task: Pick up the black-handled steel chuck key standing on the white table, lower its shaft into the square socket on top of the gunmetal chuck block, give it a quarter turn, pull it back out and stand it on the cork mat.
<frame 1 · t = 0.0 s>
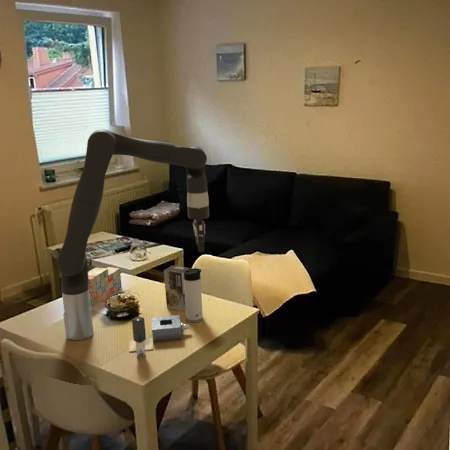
hand: (200, 248, 191), 29 cm above the table, fingers open, 8 cm apart
stack of blocks: (102, 296, 228), on the table
chuck block: (166, 335, 191), on the table
travel mug: (194, 319, 203), on the table
coffee box: (179, 307, 214), on the table
cork mat: (141, 345, 184), on the table
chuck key: (141, 355, 177), on the table
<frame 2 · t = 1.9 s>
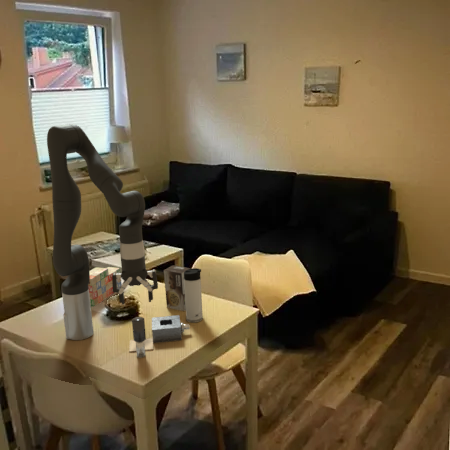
hand: (136, 302, 172), 19 cm above the table, fingers open, 8 cm apart
nothing on the table moved.
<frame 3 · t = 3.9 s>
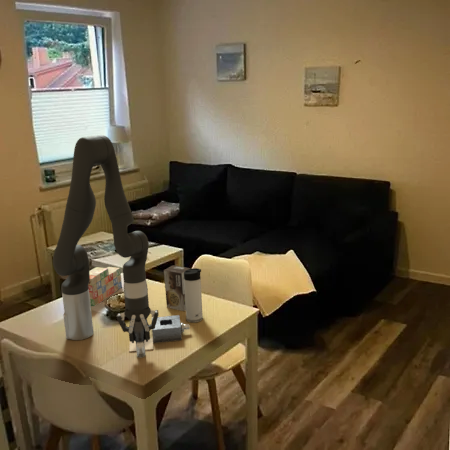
hand: (140, 341, 176), 5 cm above the table, fingers closed on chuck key, 4 cm apart
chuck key: (141, 355, 177), on the table, touching gripper
everything else where it was.
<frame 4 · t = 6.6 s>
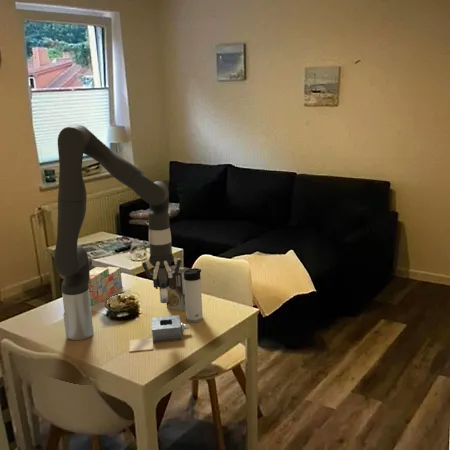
hand: (163, 287, 186), 18 cm above the table, fingers closed on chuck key, 4 cm apart
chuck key: (164, 301, 187), point 13 cm above the table, touching gripper
everything else where it was.
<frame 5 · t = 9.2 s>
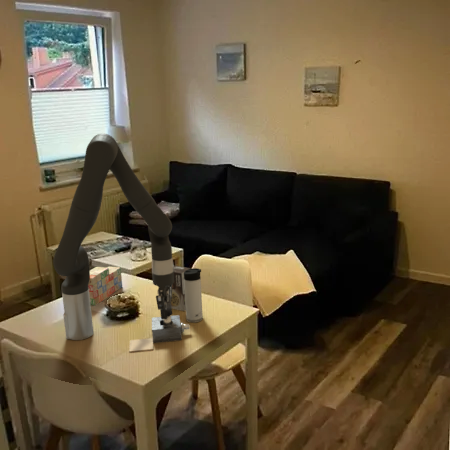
hand: (165, 315, 190), 7 cm above the table, fingers closed on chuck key, 4 cm apart
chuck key: (168, 330, 191), point 2 cm above the table, tilted 6°, touching gripper
everything else where it was.
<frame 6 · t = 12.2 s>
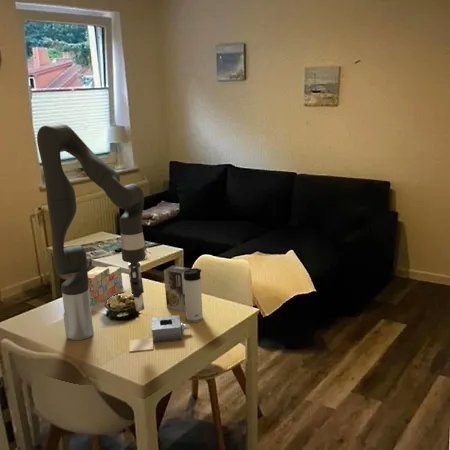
hand: (136, 294, 179), 19 cm above the table, fingers closed on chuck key, 4 cm apart
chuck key: (140, 309, 180), point 14 cm above the table, touching gripper
when the fingers open (6 cm above the table, at t = 14.8 s): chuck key stays where it is, resting on cork mat.
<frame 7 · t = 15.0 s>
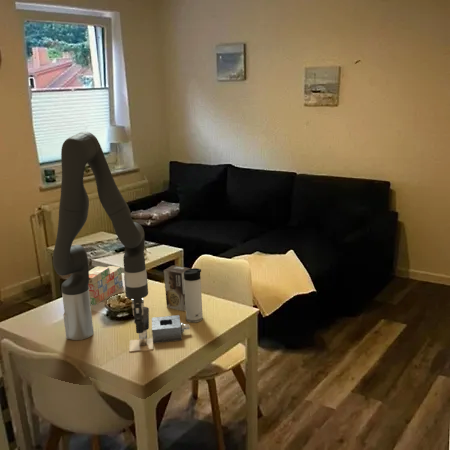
hand: (139, 328, 182), 7 cm above the table, fingers open, 6 cm apart
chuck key: (143, 344, 184), resting on cork mat
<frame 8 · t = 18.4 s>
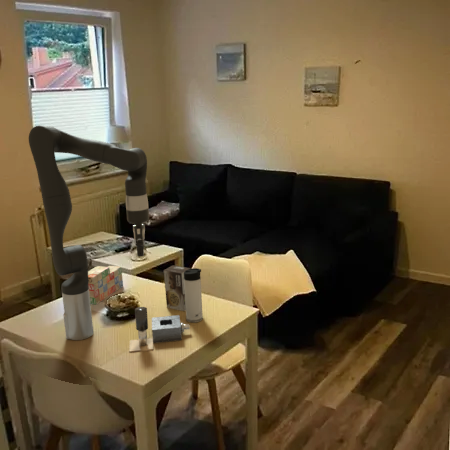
hand: (140, 252, 187), 30 cm above the table, fingers open, 8 cm apart
at the end: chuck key inside the target area on the cork mat (0.7 cm from its centre), point 0.4 cm above the cork mat's base; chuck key tilted 1°; the gripper is holding nothing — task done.
